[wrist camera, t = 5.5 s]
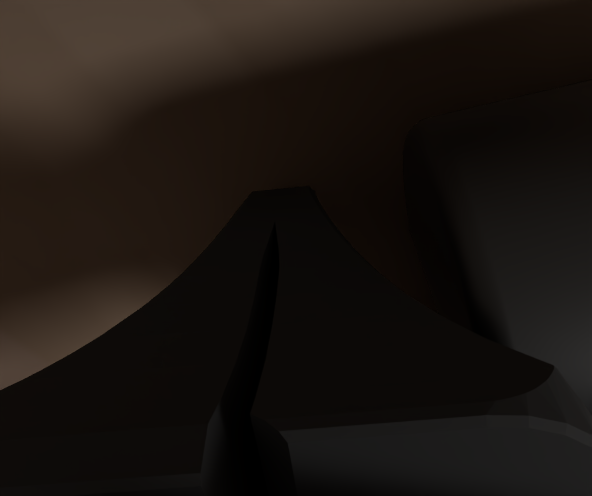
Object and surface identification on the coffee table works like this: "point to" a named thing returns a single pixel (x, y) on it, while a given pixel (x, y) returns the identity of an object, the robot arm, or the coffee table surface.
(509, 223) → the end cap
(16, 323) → the coffee table surface
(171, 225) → the coffee table surface
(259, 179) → the coffee table surface
